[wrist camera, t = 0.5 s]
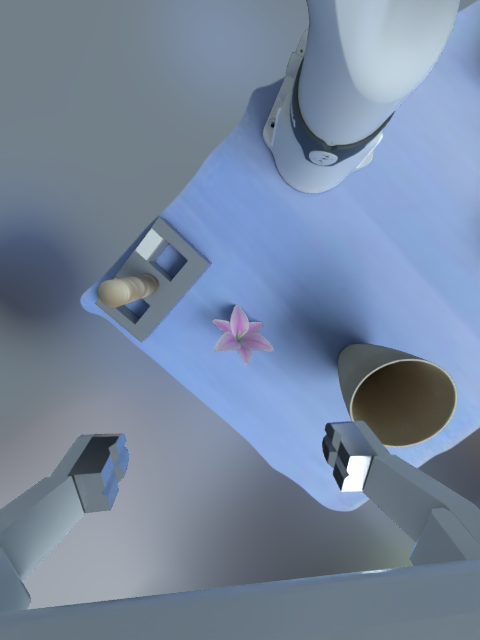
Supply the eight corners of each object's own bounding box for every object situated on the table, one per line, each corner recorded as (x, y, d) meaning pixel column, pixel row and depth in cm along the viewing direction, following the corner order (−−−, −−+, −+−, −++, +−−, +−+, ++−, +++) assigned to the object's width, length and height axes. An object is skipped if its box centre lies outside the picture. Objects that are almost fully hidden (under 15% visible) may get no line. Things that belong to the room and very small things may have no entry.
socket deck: (165, 219, 43) (158, 216, 40) (211, 263, 45) (208, 263, 42) (104, 300, 49) (93, 303, 46) (147, 337, 50) (140, 343, 47)
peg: (140, 271, 44) (98, 276, 32) (160, 277, 43) (125, 284, 32) (138, 291, 45) (96, 303, 33) (157, 297, 45) (123, 310, 33)
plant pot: (370, 399, 50) (420, 460, 35) (309, 375, 50) (331, 427, 35) (407, 341, 46) (482, 382, 31) (341, 314, 46) (383, 343, 31)
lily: (275, 347, 50) (287, 342, 41) (230, 378, 48) (233, 380, 38) (244, 304, 52) (250, 289, 42) (200, 331, 49) (196, 322, 40)
